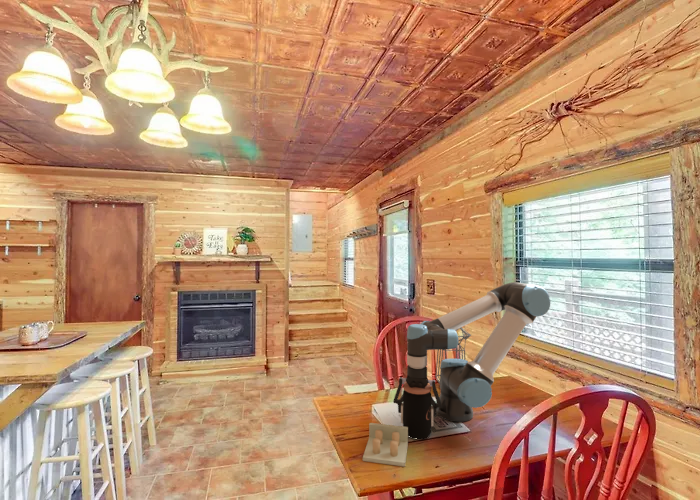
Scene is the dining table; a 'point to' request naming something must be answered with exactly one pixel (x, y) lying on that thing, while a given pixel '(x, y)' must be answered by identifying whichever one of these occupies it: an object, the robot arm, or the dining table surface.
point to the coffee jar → (417, 411)
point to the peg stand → (387, 444)
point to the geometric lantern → (453, 350)
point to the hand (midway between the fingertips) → (417, 422)
